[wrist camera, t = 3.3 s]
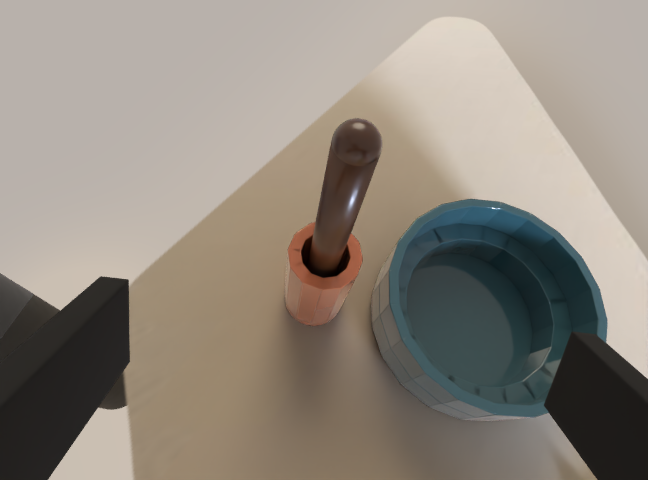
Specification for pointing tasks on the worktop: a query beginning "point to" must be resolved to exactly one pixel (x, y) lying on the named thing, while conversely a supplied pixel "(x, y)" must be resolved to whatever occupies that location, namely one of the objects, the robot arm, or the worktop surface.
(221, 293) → the worktop surface
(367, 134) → the stirring stick
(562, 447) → the worktop surface
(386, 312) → the bowl
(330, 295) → the crock
